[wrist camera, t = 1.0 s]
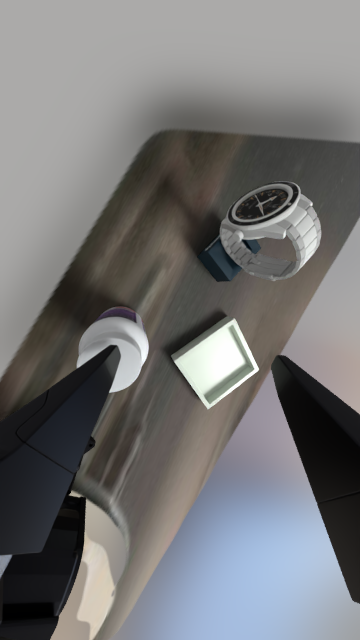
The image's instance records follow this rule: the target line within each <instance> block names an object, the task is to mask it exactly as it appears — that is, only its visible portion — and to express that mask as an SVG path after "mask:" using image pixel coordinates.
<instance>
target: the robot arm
mask: <svg viewBox="0 0 360 640" xmlns="http://www.w3.org/2000/svg"><path fill="white" fill-rule="evenodd" d="M120 359H121V353H120V350H119V347H118V345H109V346H108V347H106V348H105V349H104V350H102V351H101V352H99V353H98V354H97V355H95V356H94V357H92V358H91V359H90V360H88V361H87V362H85V363H84V364H83V365H81V366H80V367H78V368H77V369H76V370H74V371H73V372H72V373H70V374H69V375H67V376H66V377H65V378H63V379H62V380H60V381H59V382H58V383H56V384H55V385H53V386H52V387H51V388H50V389H48V390H46V391H45V392H44V393H42V394H41V395H39V396H38V397H37V398H35V399H34V400H32V401H31V402H29V403H28V404H27V405H25V406H23V407H22V408H20V409H19V410H17V411H16V412H14V413H13V414H11V415H10V416H8V417H7V418H5V419H3V420H2V421H0V640H50V638H51V636H52V634H53V632H54V630H55V628H56V626H57V623H58V619H59V615H60V613H61V612H62V610H63V608H64V606H65V604H66V602H67V600H68V597H69V595H70V593H71V590H72V588H73V585H74V582H75V579H76V576H77V573H78V570H79V566H80V562H81V558H82V553H83V547H84V532H85V508H86V497H80V498H79V497H74V496H69V494H70V493H71V490H72V487H73V483H74V480H75V477H76V473H77V471H78V470H79V468H80V465H81V461H82V458H83V455H84V454H85V453H86V452H88V451H89V450H90V449H92V448H93V447H94V446H95V443H96V442H95V440H94V439H93V438H92V437H90V436H91V434H92V431H93V429H94V427H95V424H96V422H97V420H98V417H99V415H100V413H101V410H102V408H103V406H104V403H105V401H106V399H107V396H108V394H109V391H110V389H111V387H112V384H113V382H114V379H115V375H116V372H117V369H118V365H119V362H120ZM271 370H272V374H273V378H274V382H275V386H276V390H277V393H278V397H279V400H280V402H281V406H282V408H283V411H284V414H285V417H286V419H287V422H288V425H289V428H290V430H291V433H292V436H293V439H294V441H295V444H296V447H297V450H298V452H299V455H300V458H301V461H302V463H303V466H304V469H305V472H306V474H307V477H308V480H309V483H310V485H311V488H312V491H313V494H314V496H315V499H316V502H317V505H318V508H319V511H320V513H321V516H322V519H323V522H324V524H325V527H326V530H327V533H328V535H329V538H330V541H331V544H332V546H333V549H334V552H335V555H336V557H337V560H338V563H339V566H340V568H341V571H342V574H343V577H344V579H345V582H346V585H347V588H348V590H349V593H350V595H351V598H352V600H353V601H354V602H357V603H359V604H360V414H359V413H357V412H356V411H355V410H353V409H352V408H351V407H350V406H348V405H347V404H346V403H344V402H343V401H342V400H341V399H340V398H338V397H337V396H336V395H334V394H333V393H332V392H330V391H329V390H328V389H327V388H325V387H324V386H323V385H322V384H321V383H319V382H318V381H317V380H315V379H314V378H313V377H312V376H310V375H309V374H308V373H307V372H305V371H304V370H303V369H301V368H300V367H299V366H298V365H296V364H295V363H294V362H293V361H291V360H290V359H289V358H288V357H286V356H282V355H277V356H276V357H275V359H274V361H273V363H272V365H271Z"/></svg>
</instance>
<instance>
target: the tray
mask: <svg viewBox="0 0 360 640" xmlns="http://www.w3.org/2000/svg"><path fill="white" fill-rule="evenodd" d="M171 357H172V359H173V360H174V362H175V364H176V365H177V366H178V368H179V369H180V371H181V372H182V373H183V375H184V376H185V378H186V379H187V381H188V382H189V383H190V385H191V386H192V388H193V389H194V390H195V392H196V393H197V395H198V396H199V397H200V399H201V400H202V402H203V403H204V405H205V406H206V407H207V409H209V408H211V407H212V406H213V405H214V404H216V403H217V402H218V401H220V400H221V399H222V398H223V397H225V396H226V395H227V394H229V393H230V392H231V391H232V390H234V389H235V388H236V387H238V386H239V385H240V384H241V383H243V382H244V381H245V380H247V379H248V378H249V377H250V376H252V375H253V374H254V373H256V372H257V371H258V370H259V369H258V367H257V364H256V362H255V360H254V358H253V356H252V354H251V352H250V350H249V348H248V345H247V343H246V341H245V339H244V337H243V335H242V333H241V331H240V329H239V326H238V324H237V322H236V320H235V318H232V317H229V316H226V317H225V318H224V319H222V320H221V321H219V322H218V323H216V324H215V325H214V326H212V327H211V328H209V329H208V330H206V331H205V332H204V333H202V334H201V335H199V336H198V337H196V338H195V339H194V340H192V341H191V342H189V343H188V344H187V345H185V346H184V347H182V348H181V349H179V350H178V351H177V352H175V353H174V354H172V355H171Z"/></svg>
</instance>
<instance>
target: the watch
mask: <svg viewBox="0 0 360 640" xmlns="http://www.w3.org/2000/svg"><path fill="white" fill-rule="evenodd" d="M320 228H321V227H320V222H319V219H318V217H317V215H316V212H315V211H314V209H313V207H312V202H311V201H310V200H309V199H308V198H306V197H305V196H304V195H302V194H300V188H299V186H297V185H296V184H294V183H292V182H286V181H279V182H273V183H268V184H265V185H262V186H259V187H257V188H255V189H253V190H251V191H249V192H247V193H246V194H244V195H243V196H241V197H240V198H239V199H237V200H236V201H235V202H234V203H233V204H232V206H231V207H230V209H229V211H228V213H227V217H226V218H225V219H224V220H223V221H222V223H221V227H220V233H219V234H218V235H217V237H216V238H215V239H214V240H213V241H212V242H211V243H210V244H209V245H208V246H207V247H206V248H205V249H204V250H203V251H202V252H201V253H200V254H199V255H198V256H197V257H198V258H199V260H200V261H201V262H202V263H203V264H204V266H205V267H206V268H207V269H208V271H209V272H210V273H211V274H212V276H213V277H214V278H215V279H216V281H217V282H220V281H231V280H232V279H233V278H234V277H235V276H236V275H237V273H238V272H239V271H240V270H241V269H242V268H243V269H244V271H245V272H247V273H250V274H251V275H255V276H257V277H260V278H264V279H268V280H273V281H275V280H277V279H278V280H279V279H286V278H289V277H291V276H293V275H294V274H295V273H296V272H297V271H298V270H299V269H300V268H301V267H302V266H303V265H304V264H305V263H306V262H307V260H308V259H309V258H310V257H311V256H312V255H313V254H314V252H315V250H316V249H317V248H318V245H319V243H320V238H321V229H320ZM286 235H287V236H288V237H289V238H290V240H293V242H292V243H293V245H294V247H295V250H297V251H296V255H297V259H298V260H297V261H296V262H292V261H288V262H287V261H286V260H285V259H277V258H272V257H268V256H265V255H262V254H257V255H255V254H256V253H257V252H258V251H259V250H260V249H261V247H260V245H259V244H258V242H257V241H256V239H258V238H263V237H270V238H276V239H283V238H284V237H285V236H286Z"/></svg>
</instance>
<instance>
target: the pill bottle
mask: <svg viewBox="0 0 360 640" xmlns="http://www.w3.org/2000/svg"><path fill="white" fill-rule="evenodd" d="M109 345H118V347H119V350H120V353H121V359H120V362H119V365H118V369H117V372H116V375H115V379H114V382H113V384H112V387H111V389H110V391H109V393H110V392H116V391H119V390H122V389H124V388H126V387H128V386H129V385H131V384H132V383H133V382H134V381H135V380H136V378H137V377H138V375H139V373H140V370H141V366H142V365H143V363H144V362H145V360H146V358H147V355H148V348H149V347H148V339H147V335H146V332H145V328H144V324H143V321H142V319H141V318H140V316H139V315H138V314H137V313H136V312H135V311H133V310H132V309H130V308H126V307H113V308H110V309H108V310H106V311H105V312H104V313H102V314H101V315H100V316H99V317H98V319H97V320H96V321H95V322H94V323H93V324H92V325H90V326H89V327H88V329H87V330H86V331H85V333H84V334H83V336H82V338H81V340H80V343H79V358H78V361H77V368H78V367H80V366H81V365H83V364H84V363H85V362H87V361H88V360H90V359H91V358H92V357H94V356H95V355H97V354H98V353H99V352H101V351H102V350H104V349H105V348H106V347H108V346H109Z"/></svg>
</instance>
